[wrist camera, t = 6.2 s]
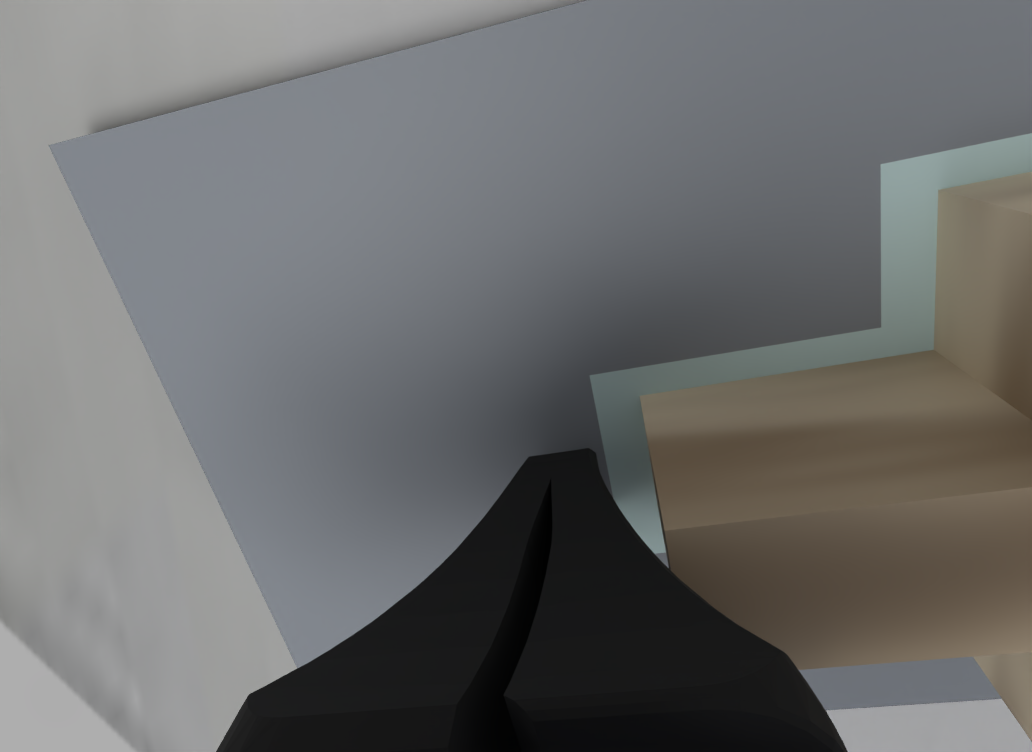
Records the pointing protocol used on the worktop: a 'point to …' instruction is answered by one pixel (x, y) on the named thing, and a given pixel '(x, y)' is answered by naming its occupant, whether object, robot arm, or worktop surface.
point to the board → (539, 263)
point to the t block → (877, 477)
